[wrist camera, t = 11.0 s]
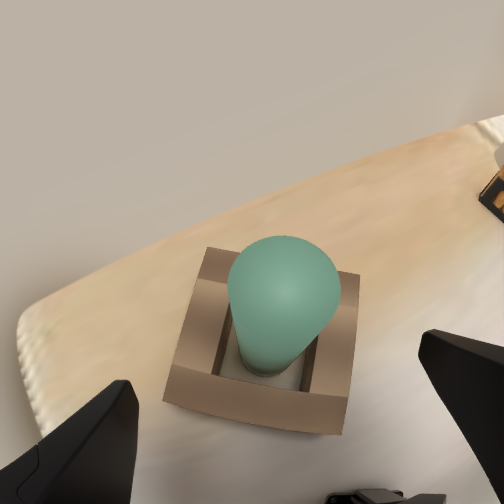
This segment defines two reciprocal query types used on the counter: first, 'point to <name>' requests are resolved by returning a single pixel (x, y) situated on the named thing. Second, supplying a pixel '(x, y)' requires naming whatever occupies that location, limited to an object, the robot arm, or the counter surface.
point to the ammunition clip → (494, 195)
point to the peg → (280, 300)
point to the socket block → (253, 395)
